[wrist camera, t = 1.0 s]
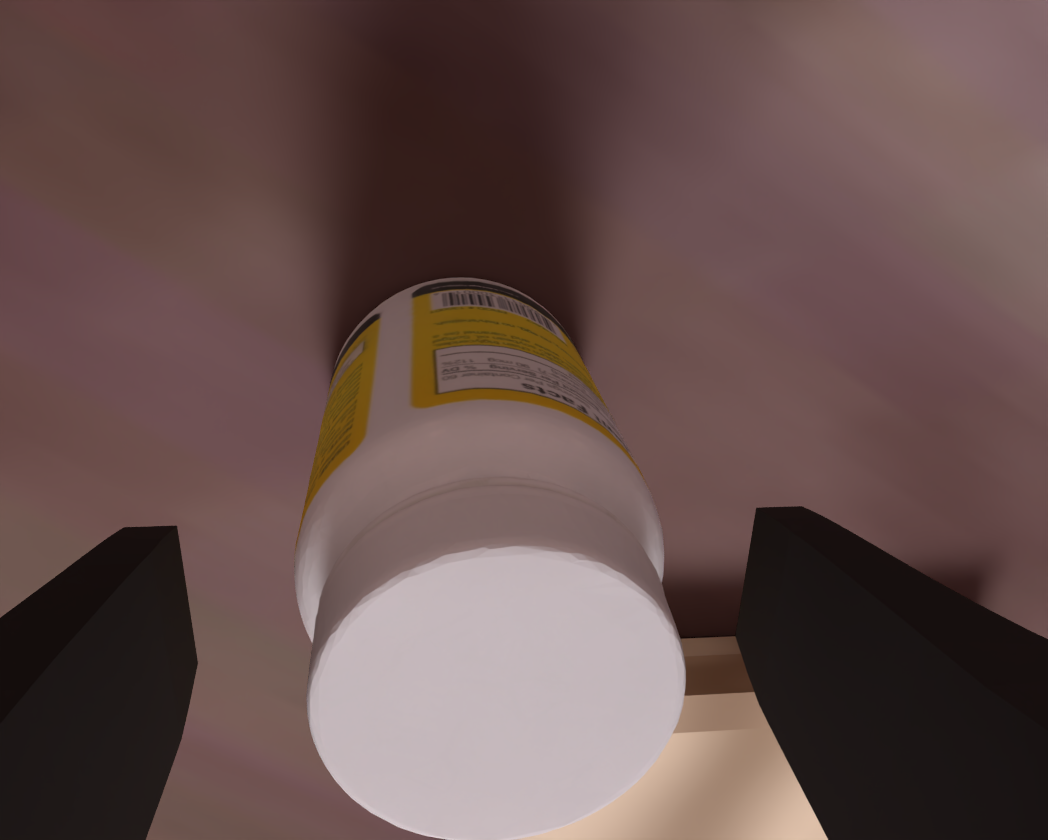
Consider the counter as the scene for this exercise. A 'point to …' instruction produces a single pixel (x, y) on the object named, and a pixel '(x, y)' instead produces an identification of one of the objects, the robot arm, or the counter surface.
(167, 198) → the counter surface
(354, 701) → the supplement bottle
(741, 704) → the tray
